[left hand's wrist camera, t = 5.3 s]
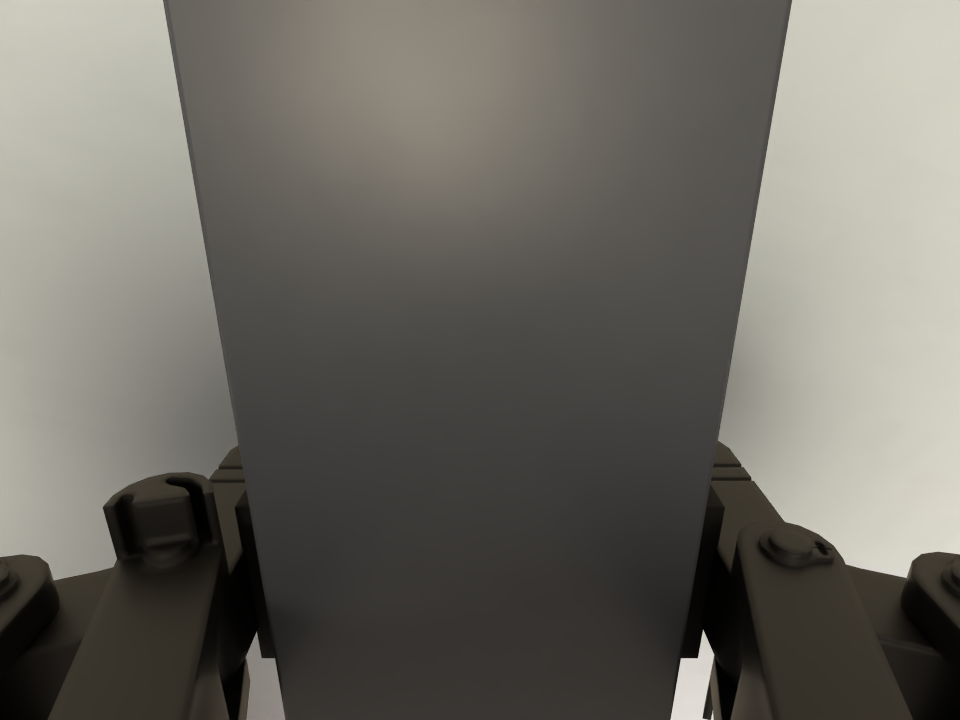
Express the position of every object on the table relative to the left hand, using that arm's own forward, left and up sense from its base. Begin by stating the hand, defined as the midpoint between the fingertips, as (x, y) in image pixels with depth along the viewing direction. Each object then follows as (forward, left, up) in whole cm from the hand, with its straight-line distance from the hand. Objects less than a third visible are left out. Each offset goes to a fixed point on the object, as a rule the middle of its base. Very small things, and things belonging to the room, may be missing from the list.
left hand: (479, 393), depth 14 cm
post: (+10, +32, 0) cm, 33 cm away
